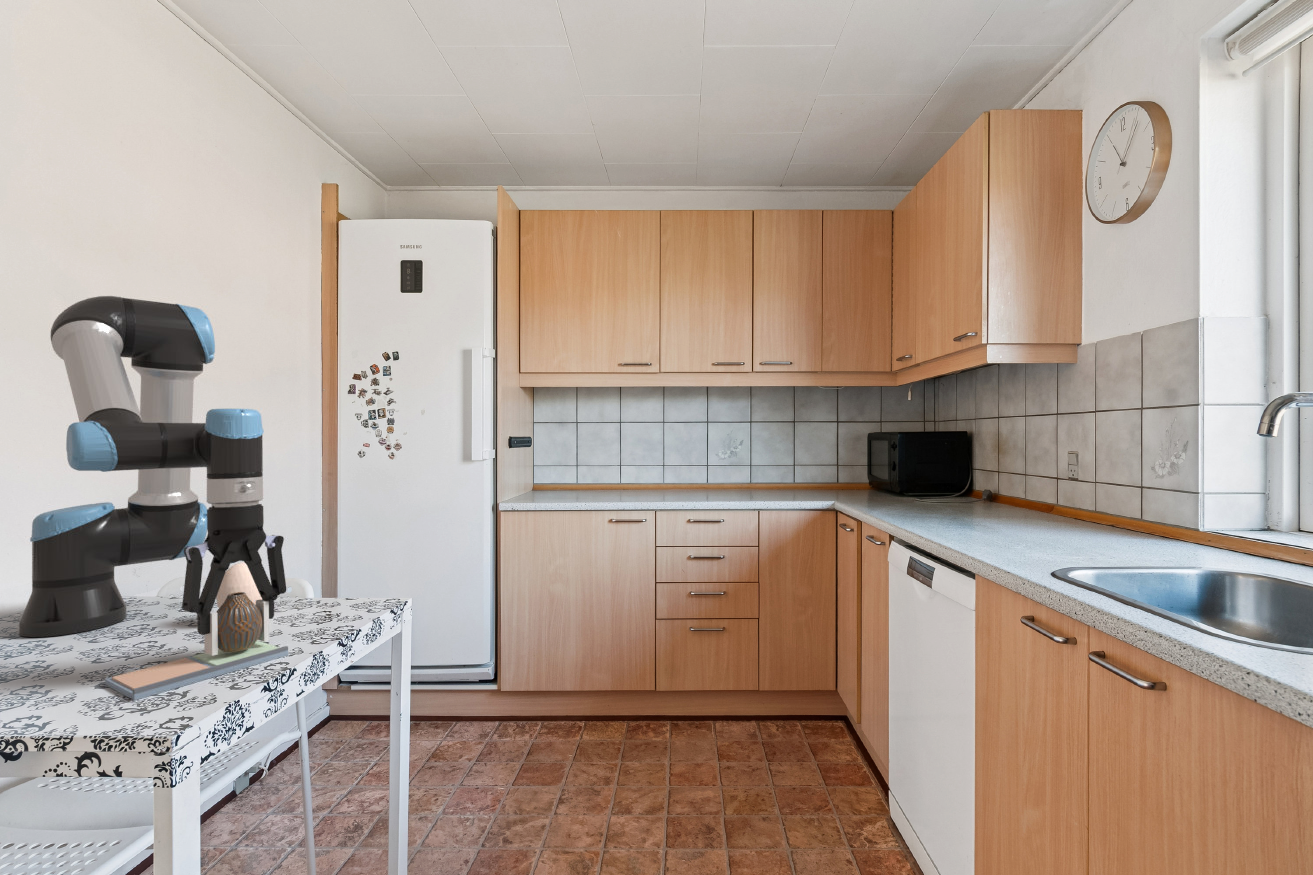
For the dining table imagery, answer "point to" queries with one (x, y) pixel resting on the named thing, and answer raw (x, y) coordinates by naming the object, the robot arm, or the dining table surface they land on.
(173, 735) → the dining table surface
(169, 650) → the dining table surface
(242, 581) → the egg
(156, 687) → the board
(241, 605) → the vase
